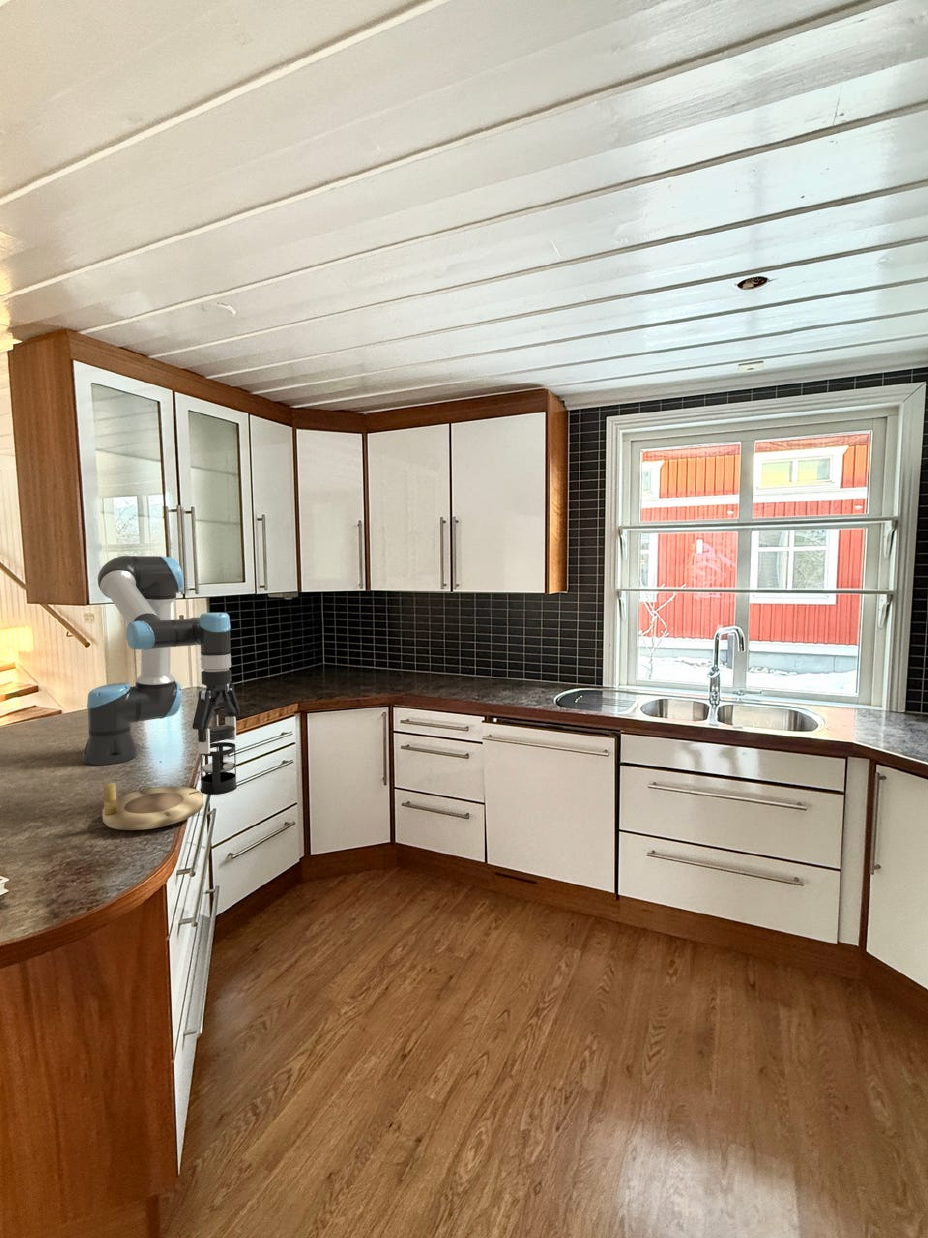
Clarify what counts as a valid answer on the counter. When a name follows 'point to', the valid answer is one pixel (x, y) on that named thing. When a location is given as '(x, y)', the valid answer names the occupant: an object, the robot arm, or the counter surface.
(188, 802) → the turntable
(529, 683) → the counter surface
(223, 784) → the french press
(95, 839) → the counter surface
